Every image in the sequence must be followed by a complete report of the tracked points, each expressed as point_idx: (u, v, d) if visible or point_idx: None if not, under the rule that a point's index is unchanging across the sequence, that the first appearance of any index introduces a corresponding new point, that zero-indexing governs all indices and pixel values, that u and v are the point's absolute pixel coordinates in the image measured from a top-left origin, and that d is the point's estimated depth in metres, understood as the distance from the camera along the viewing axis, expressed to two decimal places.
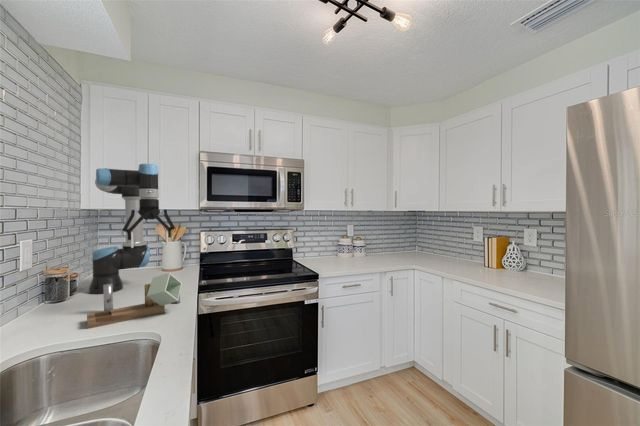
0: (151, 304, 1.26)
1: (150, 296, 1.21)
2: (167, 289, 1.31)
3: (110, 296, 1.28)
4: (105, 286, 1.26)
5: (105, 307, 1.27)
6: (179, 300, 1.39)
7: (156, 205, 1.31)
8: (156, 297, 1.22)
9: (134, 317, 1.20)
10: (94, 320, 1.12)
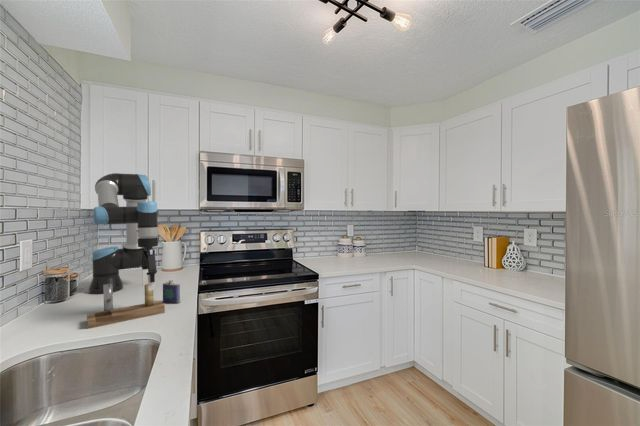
0: (151, 304, 1.26)
1: None
2: None
3: (110, 296, 1.28)
4: (105, 286, 1.26)
5: (105, 307, 1.27)
6: (179, 300, 1.39)
7: (141, 245, 1.23)
8: None
9: (134, 317, 1.20)
10: (94, 320, 1.12)
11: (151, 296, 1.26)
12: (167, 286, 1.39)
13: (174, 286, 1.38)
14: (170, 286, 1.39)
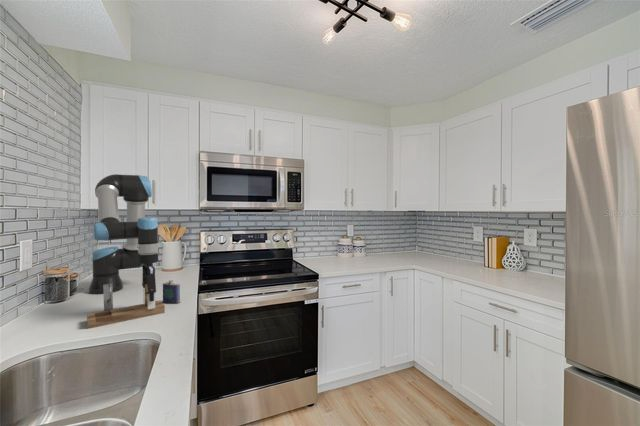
0: None
1: None
2: None
3: (110, 296, 1.28)
4: (105, 286, 1.26)
5: (105, 307, 1.27)
6: (179, 300, 1.39)
7: (142, 262, 1.23)
8: None
9: (134, 317, 1.20)
10: (94, 320, 1.12)
11: None
12: (167, 286, 1.39)
13: (174, 286, 1.38)
14: (170, 286, 1.39)
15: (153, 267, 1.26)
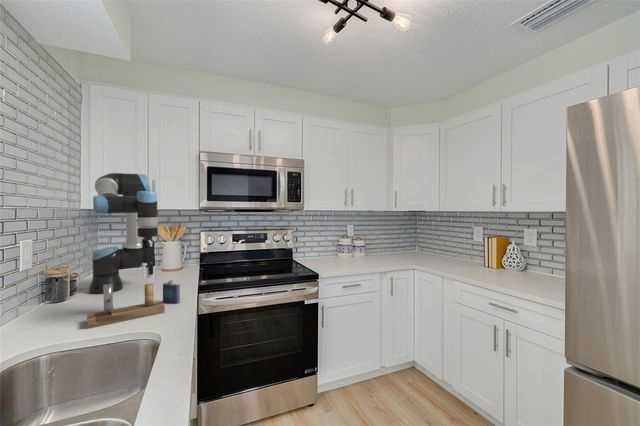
0: (151, 304, 1.26)
1: None
2: None
3: (110, 296, 1.28)
4: (105, 286, 1.26)
5: (105, 307, 1.27)
6: (179, 300, 1.39)
7: (141, 235, 1.23)
8: None
9: (134, 317, 1.20)
10: (94, 320, 1.12)
11: (151, 296, 1.26)
12: (167, 286, 1.39)
13: (174, 286, 1.38)
14: (170, 286, 1.39)
15: (152, 241, 1.26)
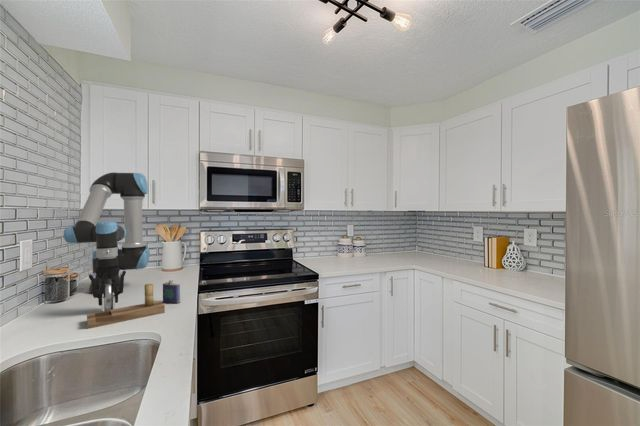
0: (151, 304, 1.26)
1: None
2: None
3: (110, 296, 1.28)
4: (105, 286, 1.26)
5: (105, 307, 1.27)
6: (179, 300, 1.39)
7: (115, 264, 1.27)
8: None
9: (134, 317, 1.20)
10: (94, 320, 1.12)
11: (151, 296, 1.26)
12: (167, 286, 1.39)
13: (174, 286, 1.38)
14: (170, 286, 1.39)
15: None
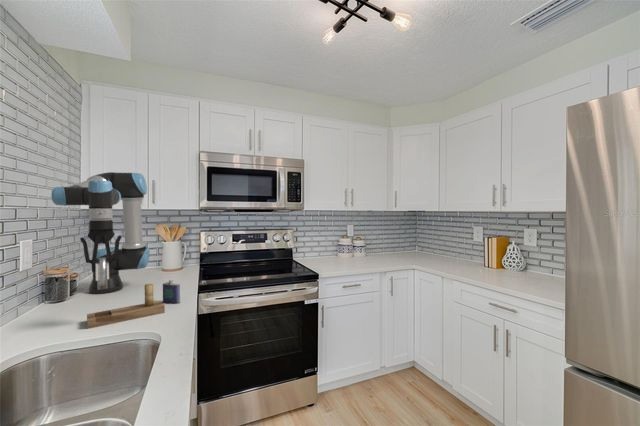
0: (151, 304, 1.26)
1: None
2: None
3: (104, 271, 1.16)
4: (99, 260, 1.15)
5: (99, 283, 1.15)
6: (179, 300, 1.39)
7: (109, 227, 1.16)
8: None
9: (134, 317, 1.20)
10: (94, 320, 1.12)
11: (151, 296, 1.26)
12: (167, 286, 1.39)
13: (174, 286, 1.38)
14: (170, 286, 1.39)
15: None
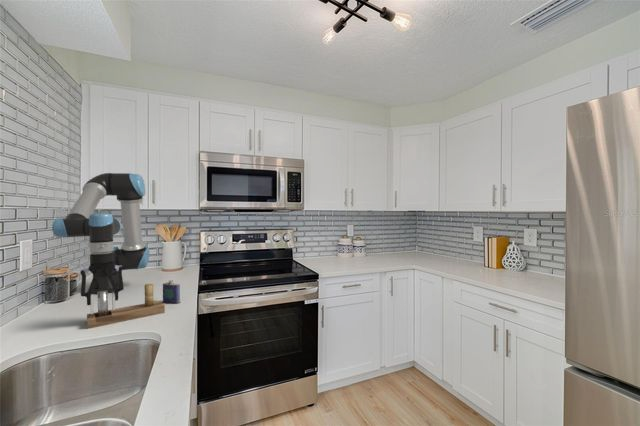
0: (151, 304, 1.26)
1: None
2: None
3: (105, 304, 1.16)
4: (99, 293, 1.15)
5: (99, 316, 1.16)
6: (179, 300, 1.39)
7: (110, 260, 1.16)
8: None
9: (134, 317, 1.20)
10: (94, 320, 1.12)
11: (151, 296, 1.26)
12: (167, 286, 1.39)
13: (174, 286, 1.38)
14: (170, 286, 1.39)
15: None
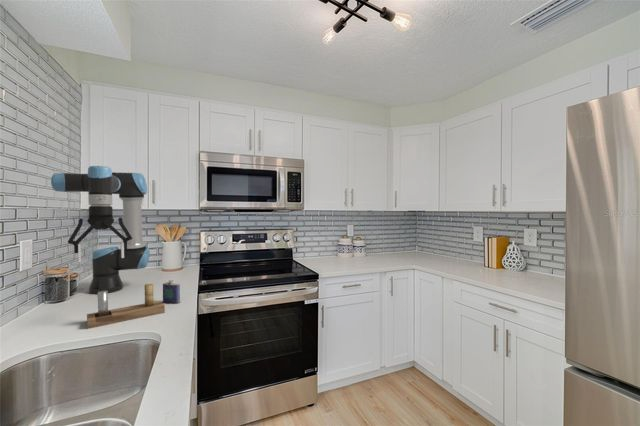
0: (151, 304, 1.26)
1: None
2: None
3: (105, 304, 1.16)
4: (99, 293, 1.15)
5: None
6: (179, 300, 1.39)
7: (109, 213, 1.16)
8: None
9: (134, 317, 1.20)
10: (94, 320, 1.12)
11: (151, 296, 1.26)
12: (167, 286, 1.39)
13: (174, 286, 1.38)
14: (170, 286, 1.39)
15: None
